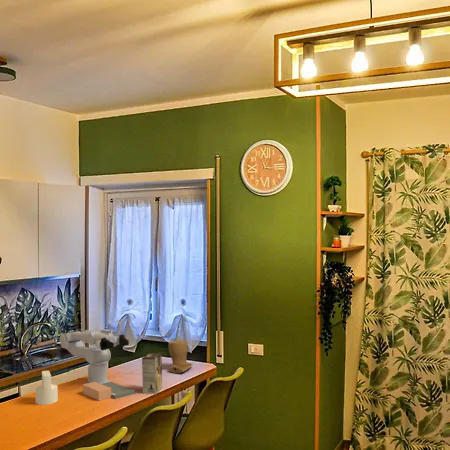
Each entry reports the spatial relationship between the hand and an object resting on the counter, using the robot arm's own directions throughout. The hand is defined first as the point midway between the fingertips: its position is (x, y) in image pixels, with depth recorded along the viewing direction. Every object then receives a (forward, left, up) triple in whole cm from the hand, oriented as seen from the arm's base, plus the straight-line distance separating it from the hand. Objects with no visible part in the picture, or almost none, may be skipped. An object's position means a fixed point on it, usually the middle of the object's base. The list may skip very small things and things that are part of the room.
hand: (120, 344), depth 246 cm
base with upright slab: (-11, -30, -21) cm, 39 cm away
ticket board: (-2, -3, -21) cm, 21 cm away
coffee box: (+10, +10, -21) cm, 26 cm away
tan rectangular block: (-2, -11, -21) cm, 24 cm away
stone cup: (-9, +40, -21) cm, 46 cm away
